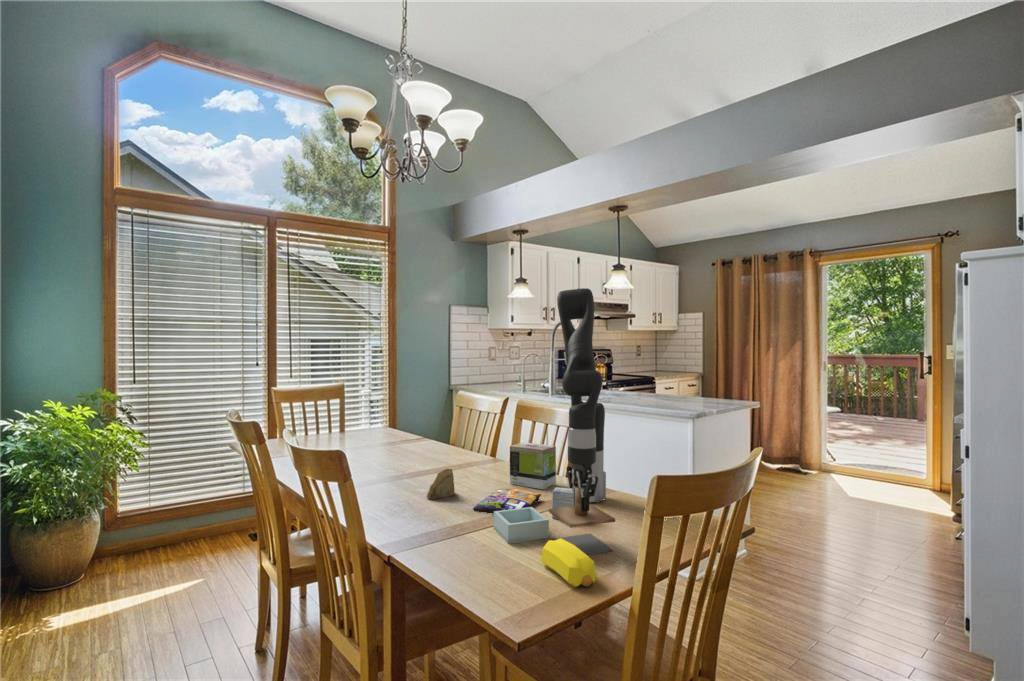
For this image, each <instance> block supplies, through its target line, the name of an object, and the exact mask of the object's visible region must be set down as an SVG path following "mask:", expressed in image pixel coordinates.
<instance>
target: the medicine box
mask: <svg viewBox="0 0 1024 681" xmlns="http://www.w3.org/2000/svg"><path fill="white" fill-rule="evenodd" d="M551 497H552V499H551V501H552V502H551V506H552V508H551V509H554V508H562V507H571V506H574V493H573V491H572V489H570V487H568V488H567V487H557V486H556V487H554V489H553V490H552V492H551ZM551 515H552V514H551ZM552 519H556V520H559V519H558V518H556V517H555V516H554V515H552Z"/></svg>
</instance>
